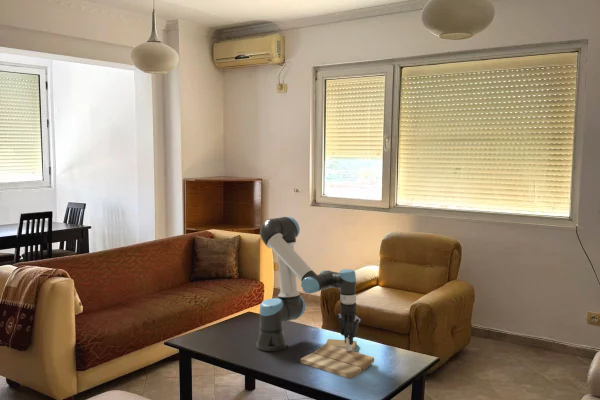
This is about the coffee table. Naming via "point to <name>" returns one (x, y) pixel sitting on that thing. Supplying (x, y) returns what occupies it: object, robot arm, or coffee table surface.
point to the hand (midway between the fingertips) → (349, 350)
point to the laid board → (331, 365)
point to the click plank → (345, 356)
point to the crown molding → (340, 343)
